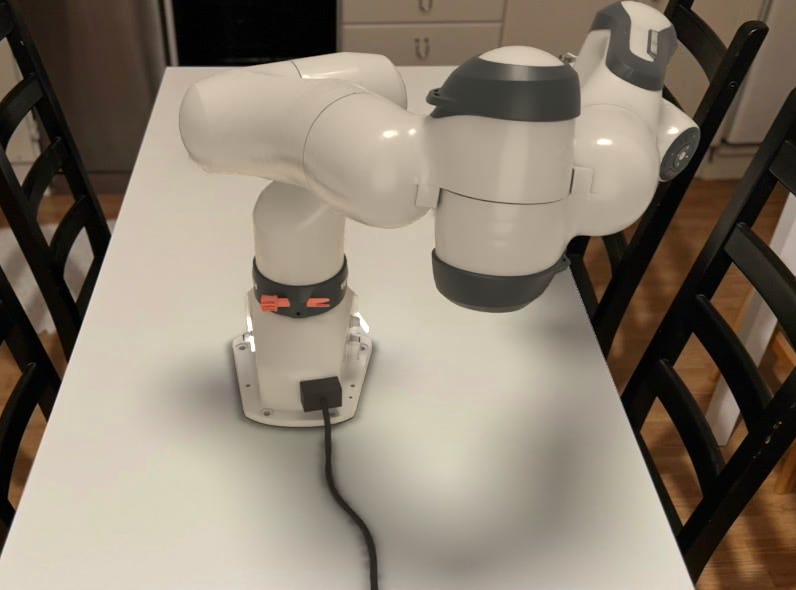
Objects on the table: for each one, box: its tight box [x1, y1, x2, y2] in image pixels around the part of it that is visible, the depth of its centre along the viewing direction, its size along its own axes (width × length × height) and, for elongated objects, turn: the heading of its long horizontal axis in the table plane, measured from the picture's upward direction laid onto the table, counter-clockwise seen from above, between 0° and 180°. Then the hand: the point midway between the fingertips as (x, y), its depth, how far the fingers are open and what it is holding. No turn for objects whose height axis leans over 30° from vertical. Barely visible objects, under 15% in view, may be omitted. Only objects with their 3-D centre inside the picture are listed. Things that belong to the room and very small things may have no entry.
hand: (535, 64), depth 129 cm, fingers open, 8 cm apart
